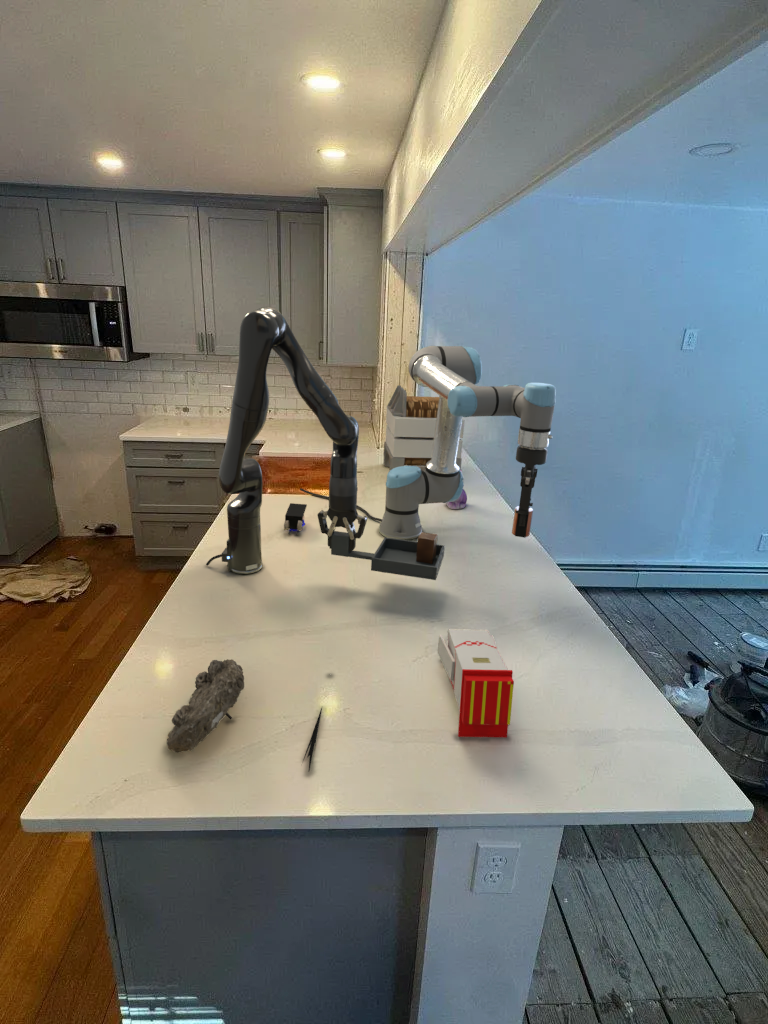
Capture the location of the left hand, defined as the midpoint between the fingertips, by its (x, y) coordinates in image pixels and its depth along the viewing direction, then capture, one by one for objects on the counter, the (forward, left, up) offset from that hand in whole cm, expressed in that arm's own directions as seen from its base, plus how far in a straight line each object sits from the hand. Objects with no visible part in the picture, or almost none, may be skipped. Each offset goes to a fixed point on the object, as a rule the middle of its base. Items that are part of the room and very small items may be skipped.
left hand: (341, 548), depth 157 cm
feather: (+1, -56, -11) cm, 57 cm away
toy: (+31, -45, -11) cm, 56 cm away
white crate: (+27, +121, -11) cm, 125 cm away
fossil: (-19, -57, -11) cm, 61 cm away
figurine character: (-20, +40, -11) cm, 46 cm away
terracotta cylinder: (+48, -4, +9) cm, 49 cm away
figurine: (+40, +74, -11) cm, 85 cm away
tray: (+12, -3, -2) cm, 13 cm away
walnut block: (+23, -2, -1) cm, 24 cm away
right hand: (+48, -4, +9) cm, 49 cm away
